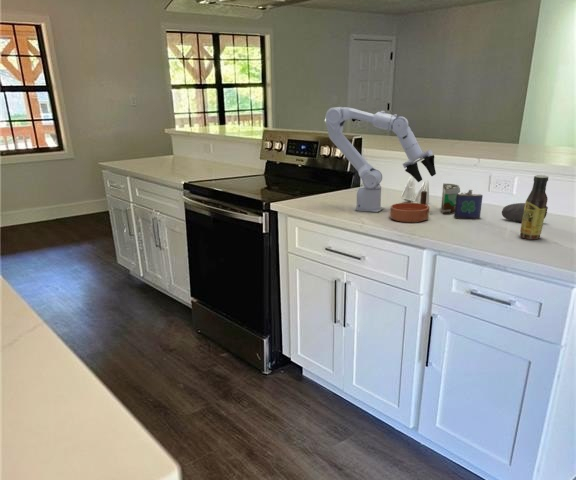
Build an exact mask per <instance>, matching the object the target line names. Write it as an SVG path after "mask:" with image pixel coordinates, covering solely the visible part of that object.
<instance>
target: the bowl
mask: <svg viewBox="0 0 576 480" xmlns="http://www.w3.org/2000/svg"><path fill="white" fill-rule="evenodd" d="M389 212H390V213H389V218H390V219H392V220H394V221H395V222H401V223H420V222H424V221H427V220H428V219H429V217H430V206H429V205H428V204H426V205H424V204H419V203H417V202H399V203H394V204H392V205H390V211H389Z"/></svg>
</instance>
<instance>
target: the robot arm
mask: <svg viewBox="0 0 576 480" xmlns="http://www.w3.org/2000/svg"><path fill="white" fill-rule="evenodd" d="M348 120H358V121H362V122H367V123H370V124H372V126H373V127H374V128H377V129H381V130H385V131H389V132H390V131H392V132H393V133H394V134H396V136H397V139H398V141H399V144H400V146H401V147H402V149H403V151H404V153H405V155H406V157H407V159H408V160H407V161H405V162H403V163H402V166H403V168H404V172H406V173H408V174H409V175H410V176H411V177H412V178H413V177H414V178H415V181H416V183H420V182H421V181H423V177H422V174H421V173H420V169H419V166H418V162H420V163H421V164H422V165H423V166H424V167H425V169H426V170H427V171H428V173H429V175H430V176H431V177H434V176H436V174H437V171H436V166H435V154H434V153H433V151H432V149H429V150H426V151H424V152H423V150H422V148H421V146H420V144H419V142H418V140H417V138H416V136H415V134H414V132H413V131H412V128H411V127H410V126H409V120H408V118H406V117H405V116H403V115H400V116H398V114H396V113H394V114H391V113H387V112H386V111H385V110H381V111H377V112H376V113H371V112H367V111H364V110H360V109H357V108H354V107H343V106H335V107H330V108H328V110H327V111H326V114H325V119H324V123H325V125H326V129H327V135H328V138H329V140H330V141H331V142H332V143H333V144H334V146H335V147H336V148H337V149H338V150H339V151H340V152H341V153H342V155H343V156H344V157H345V158H346V160H347V161H348V162H349V164H351V166H353V168H354V169H355V170H356V171H357V173H358V176H359V178H360V179H361V180H362V184H363V186H362V187H359V188H358V189H357V191H356V209H355V211H357V212H372V213H379V212H380V211H382V210H383V209H384V206H381V203H382V202H381V201H382V186H381V182H382V181H383V173H382V172H381V171H380V170H379V169H376V168H375V167H373V165H372V164H370V163H368V162H367V160H366V159H365V158H364V157H363V156H362V155H361V153H360V152H359V151H358V150H357V149H356V146H354V145H353V144H352V142H351V141H350V140H349V139H348V138H347V136H345V134H344V133H343V131H344V124H345V122H346V121H348Z"/></svg>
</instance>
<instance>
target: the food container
mask: <svg viewBox="0 0 576 480" xmlns="http://www.w3.org/2000/svg"><path fill="white" fill-rule="evenodd" d="M457 194H461V187H460V185H458V184H455V183H445V182H444V183H443V184H442V193H441V204H440V205H441V206H440V210H441V212H442V214H443V215H449V214H455V207H456V197H457Z"/></svg>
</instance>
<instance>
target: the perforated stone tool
mask: <svg viewBox="0 0 576 480" xmlns="http://www.w3.org/2000/svg"><path fill="white" fill-rule="evenodd" d="M525 203H526V202H518V203H517V202H516V203H511V204H507V205H506V206H504V207H503V208H502V210H501V215H502V217H503V218H504V219H506V220H507V221H514V222H518V223H522V219H523V213H524V208H525ZM548 209H549V208H548V206H547V205H546V212H545V216H544V219H545V218H547V214H548Z"/></svg>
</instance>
